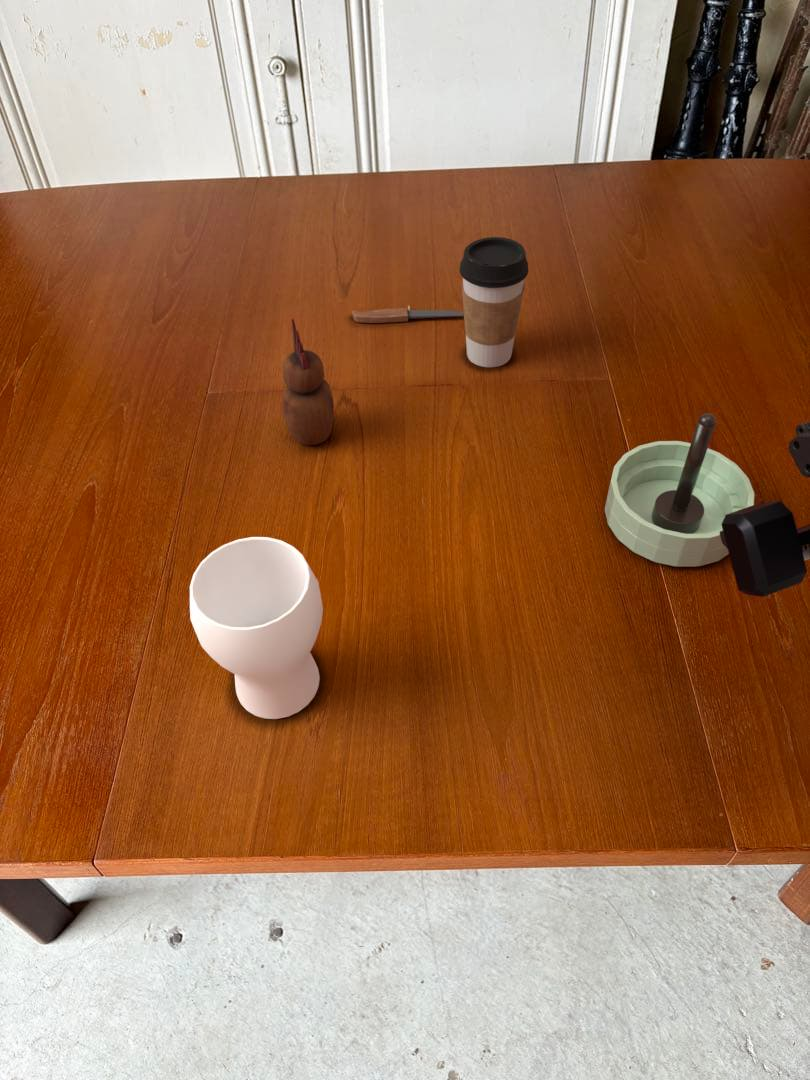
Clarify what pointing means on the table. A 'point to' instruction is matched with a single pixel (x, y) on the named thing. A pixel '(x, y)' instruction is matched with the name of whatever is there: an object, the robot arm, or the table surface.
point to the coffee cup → (492, 298)
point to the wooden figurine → (306, 395)
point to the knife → (400, 315)
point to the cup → (260, 622)
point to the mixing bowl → (659, 472)
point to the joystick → (686, 486)
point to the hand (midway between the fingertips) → (768, 521)
